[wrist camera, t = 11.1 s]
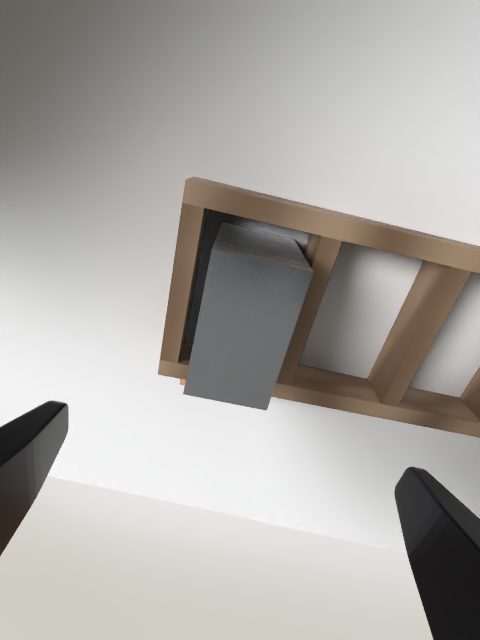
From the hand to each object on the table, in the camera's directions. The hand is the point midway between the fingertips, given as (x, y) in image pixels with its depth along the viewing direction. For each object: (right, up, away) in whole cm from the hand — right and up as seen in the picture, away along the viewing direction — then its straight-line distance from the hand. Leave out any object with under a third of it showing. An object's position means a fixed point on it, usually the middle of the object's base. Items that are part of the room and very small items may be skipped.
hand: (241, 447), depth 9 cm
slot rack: (+7, +4, +11) cm, 14 cm away
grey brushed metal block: (0, +5, +11) cm, 12 cm away
